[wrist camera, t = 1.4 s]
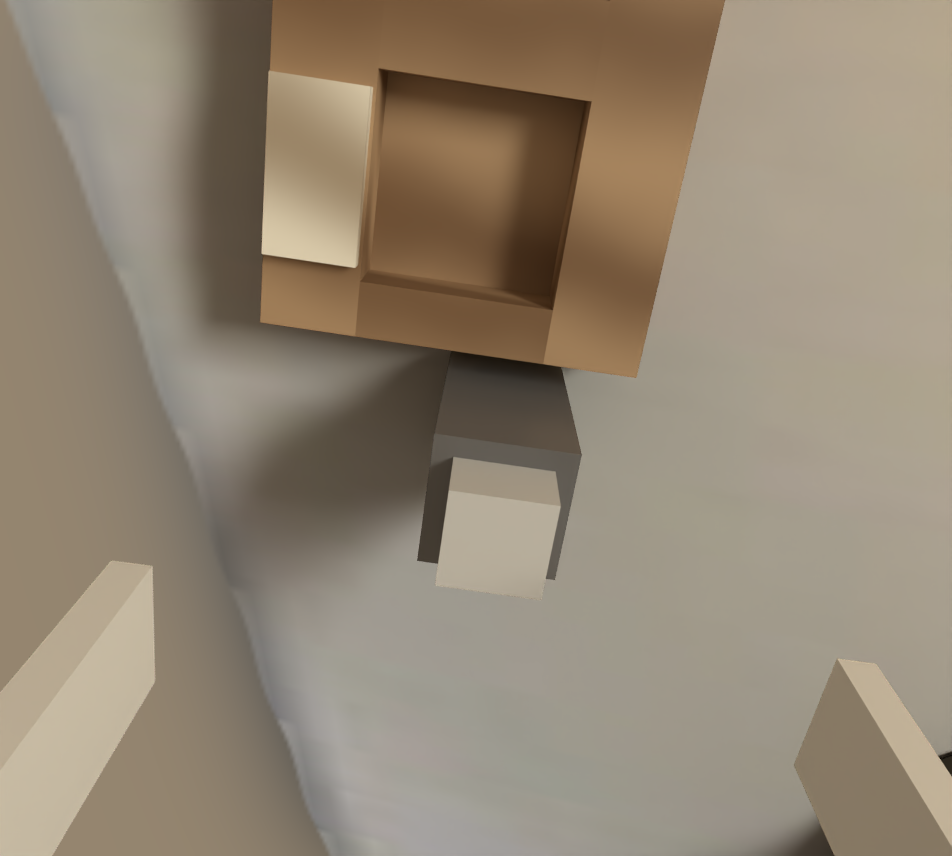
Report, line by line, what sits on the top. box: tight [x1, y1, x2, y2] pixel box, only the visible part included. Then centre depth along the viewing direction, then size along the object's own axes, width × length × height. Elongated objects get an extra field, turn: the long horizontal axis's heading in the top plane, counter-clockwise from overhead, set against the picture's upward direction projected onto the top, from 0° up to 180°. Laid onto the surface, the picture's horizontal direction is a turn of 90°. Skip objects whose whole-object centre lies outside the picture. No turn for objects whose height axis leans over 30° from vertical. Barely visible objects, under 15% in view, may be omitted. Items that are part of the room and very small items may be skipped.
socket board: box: [260, 0, 725, 378], centre depth 22 cm, size 18×12×4 cm, turn 172°
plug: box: [417, 351, 582, 600], centre depth 24 cm, size 4×4×10 cm
